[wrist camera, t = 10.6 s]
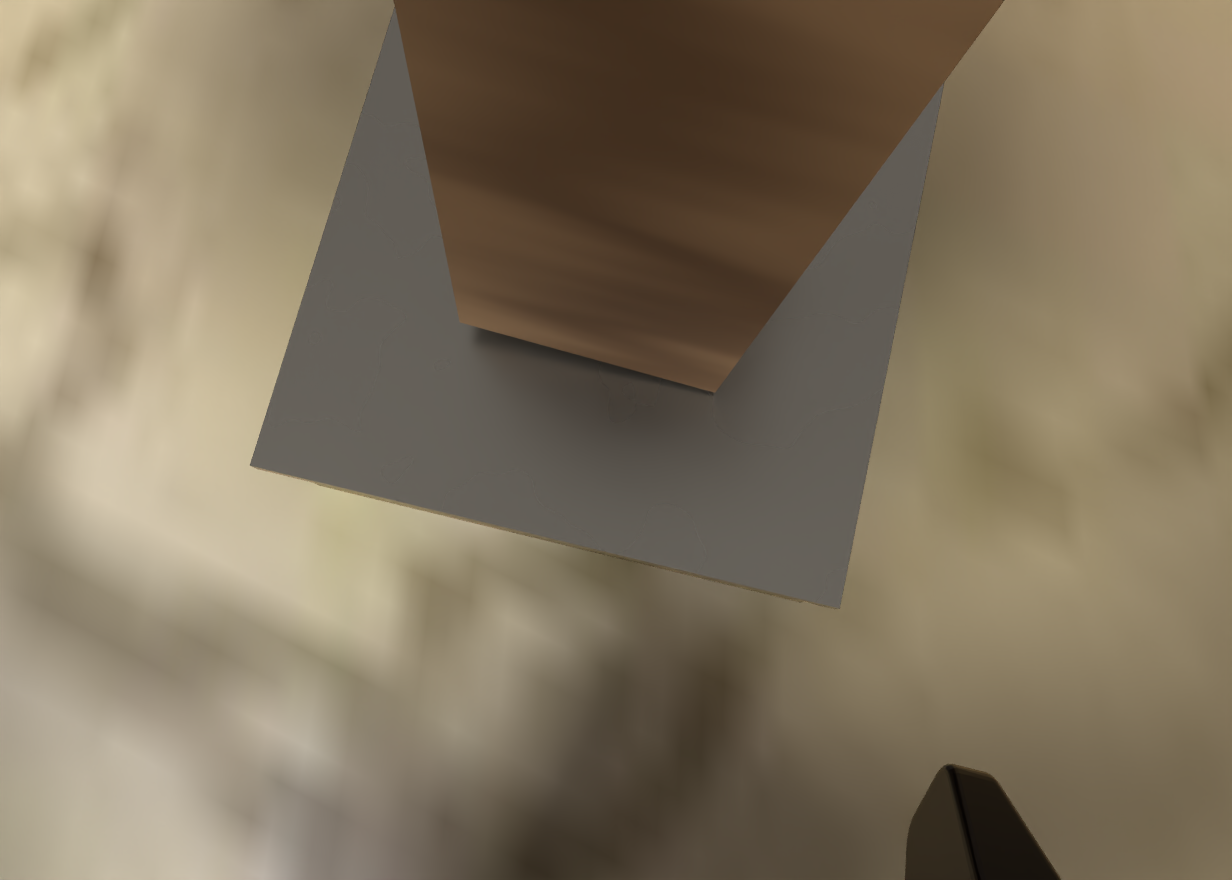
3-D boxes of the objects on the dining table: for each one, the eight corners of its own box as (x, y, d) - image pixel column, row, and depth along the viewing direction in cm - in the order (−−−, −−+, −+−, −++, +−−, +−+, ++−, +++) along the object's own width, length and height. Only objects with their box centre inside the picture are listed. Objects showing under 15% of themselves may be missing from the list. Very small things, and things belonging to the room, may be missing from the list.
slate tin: (899, 151, 25) (948, 58, 21) (804, 614, 22) (839, 608, 19) (448, 55, 25) (413, -52, 21) (315, 494, 23) (249, 465, 19)
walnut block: (772, 160, 20) (1182, -653, 8) (715, 392, 19) (1080, -102, 7) (531, 91, 20) (538, -854, 7) (459, 322, 19) (327, -325, 6)
